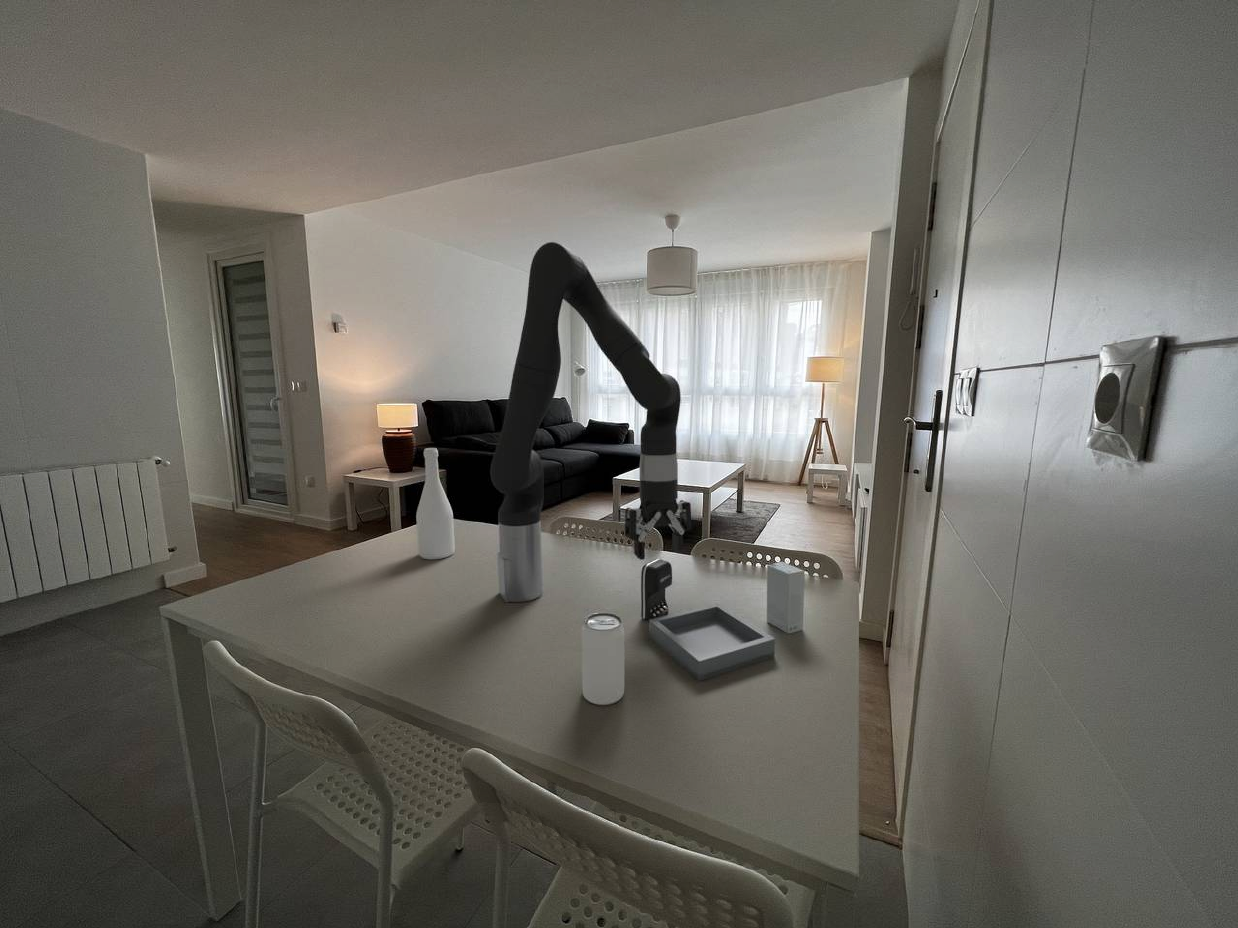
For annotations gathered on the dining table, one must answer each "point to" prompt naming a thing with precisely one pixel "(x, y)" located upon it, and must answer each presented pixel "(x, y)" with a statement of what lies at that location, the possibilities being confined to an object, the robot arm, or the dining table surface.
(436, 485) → the wine bottle
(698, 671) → the tray
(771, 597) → the skincare box
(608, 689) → the can
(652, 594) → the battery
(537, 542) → the robot arm
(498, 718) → the dining table surface
